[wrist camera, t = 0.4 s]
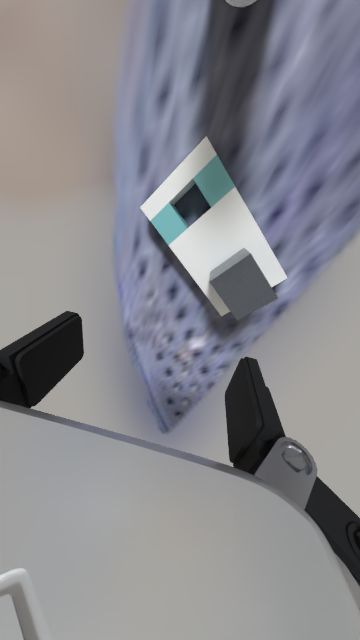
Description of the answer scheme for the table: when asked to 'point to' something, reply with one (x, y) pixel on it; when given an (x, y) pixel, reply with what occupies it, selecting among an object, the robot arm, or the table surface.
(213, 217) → the docking board
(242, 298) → the grey rectangular block
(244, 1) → the cylindrical container
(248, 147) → the table surface
